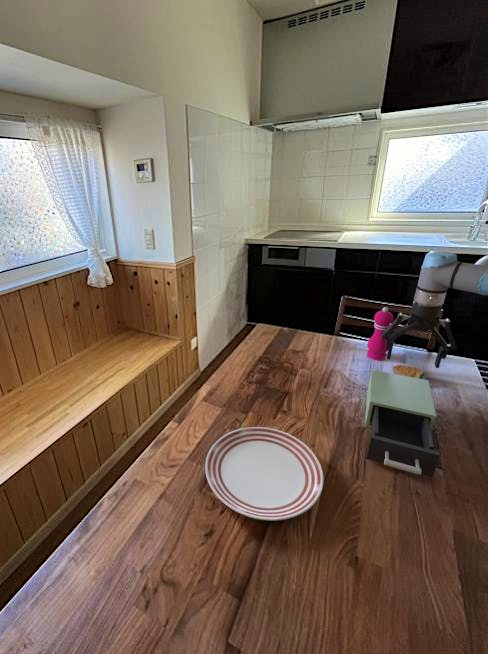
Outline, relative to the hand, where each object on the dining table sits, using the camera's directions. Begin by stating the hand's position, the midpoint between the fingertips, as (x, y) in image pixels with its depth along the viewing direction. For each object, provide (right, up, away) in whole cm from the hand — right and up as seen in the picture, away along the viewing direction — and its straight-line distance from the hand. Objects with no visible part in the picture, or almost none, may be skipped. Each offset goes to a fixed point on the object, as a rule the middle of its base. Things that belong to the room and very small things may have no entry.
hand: (411, 361), depth 112 cm
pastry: (+1, -6, +2) cm, 6 cm away
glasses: (-46, -7, +7) cm, 47 cm away
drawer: (-22, -19, -27) cm, 40 cm away
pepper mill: (-3, 0, +16) cm, 16 cm away
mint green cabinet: (-14, -14, -14) cm, 24 cm away
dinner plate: (-57, -24, -30) cm, 68 cm away
